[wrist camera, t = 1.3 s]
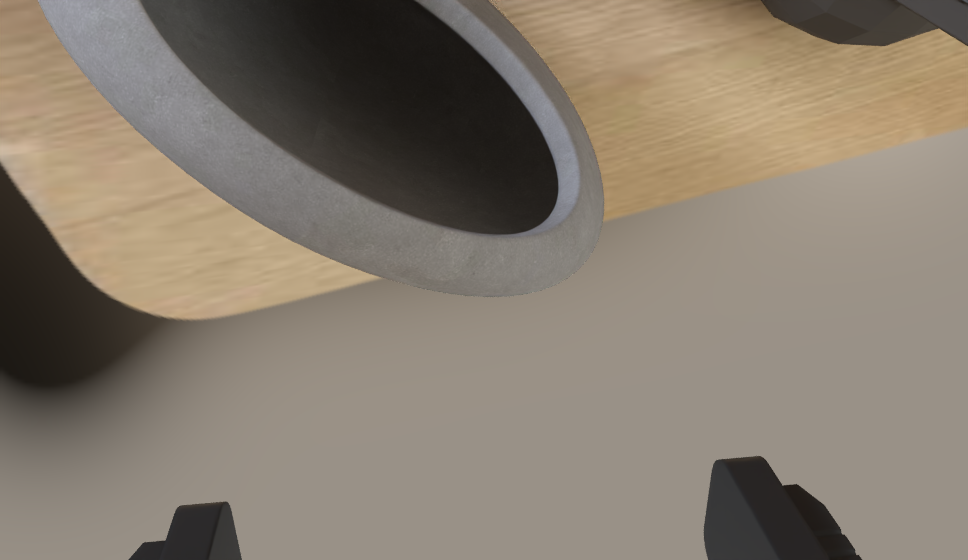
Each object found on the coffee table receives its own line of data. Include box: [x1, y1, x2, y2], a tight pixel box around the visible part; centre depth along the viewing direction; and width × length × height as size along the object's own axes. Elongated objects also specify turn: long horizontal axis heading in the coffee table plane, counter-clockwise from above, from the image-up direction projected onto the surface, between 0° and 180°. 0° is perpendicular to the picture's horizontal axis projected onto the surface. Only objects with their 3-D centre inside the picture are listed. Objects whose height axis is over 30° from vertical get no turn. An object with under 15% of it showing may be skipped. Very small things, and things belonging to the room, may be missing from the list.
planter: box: [38, 0, 604, 297], centre depth 25 cm, size 18×7×19 cm, turn 55°
